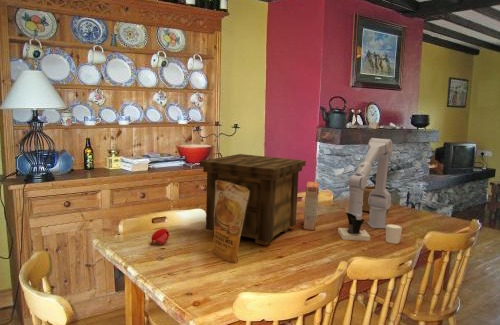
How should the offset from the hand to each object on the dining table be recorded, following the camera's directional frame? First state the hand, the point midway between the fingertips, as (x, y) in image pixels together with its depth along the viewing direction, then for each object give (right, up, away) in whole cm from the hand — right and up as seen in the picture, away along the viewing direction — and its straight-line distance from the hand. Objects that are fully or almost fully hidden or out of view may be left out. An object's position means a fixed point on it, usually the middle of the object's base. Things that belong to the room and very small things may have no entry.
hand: (353, 231), depth 182 cm
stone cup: (+22, +3, +45) cm, 51 cm away
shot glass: (+16, -4, -5) cm, 17 cm away
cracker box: (-18, 0, +14) cm, 22 cm away
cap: (-84, -2, -19) cm, 86 cm away
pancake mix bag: (-56, -5, -29) cm, 63 cm away
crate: (-46, -1, +1) cm, 46 cm away
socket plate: (0, -2, 0) cm, 2 cm away
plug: (0, -2, 0) cm, 3 cm away
